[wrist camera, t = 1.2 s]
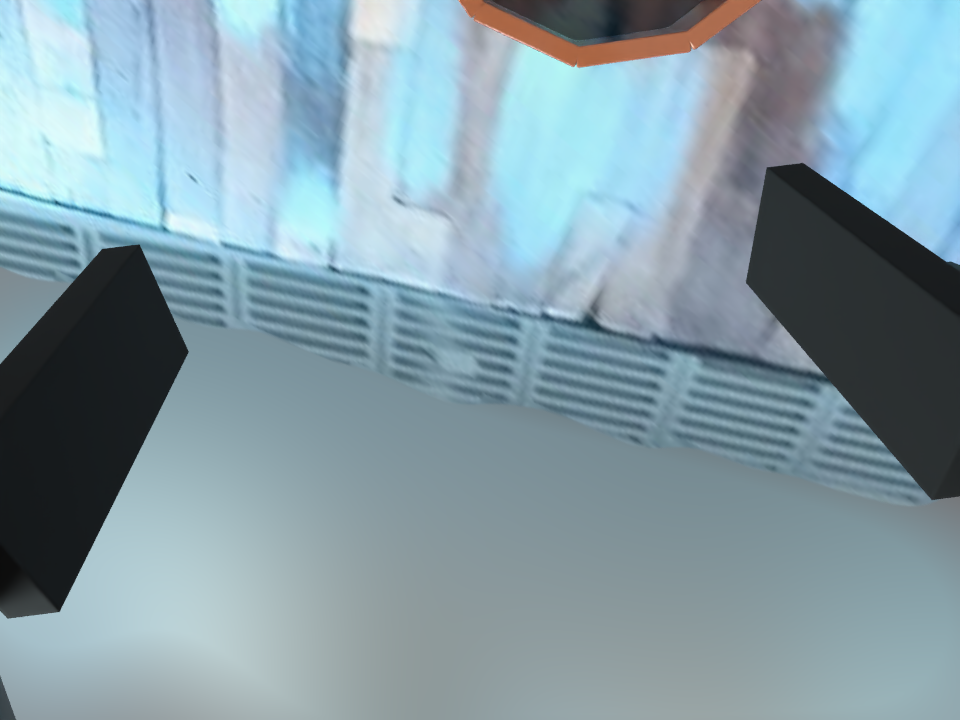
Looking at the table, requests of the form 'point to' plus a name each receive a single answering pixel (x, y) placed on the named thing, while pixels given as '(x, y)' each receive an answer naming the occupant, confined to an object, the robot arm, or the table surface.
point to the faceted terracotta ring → (685, 34)
